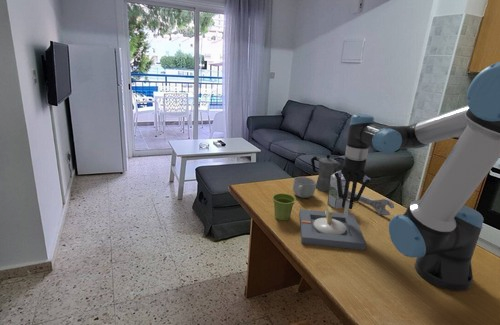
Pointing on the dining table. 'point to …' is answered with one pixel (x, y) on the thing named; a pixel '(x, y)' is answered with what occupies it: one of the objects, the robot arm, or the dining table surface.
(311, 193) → the teacup
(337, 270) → the dining table surface
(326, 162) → the coffeepot
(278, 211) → the plant pot
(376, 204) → the wrench
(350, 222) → the dial housing
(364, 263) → the dining table surface
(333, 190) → the syrup box
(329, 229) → the dial
